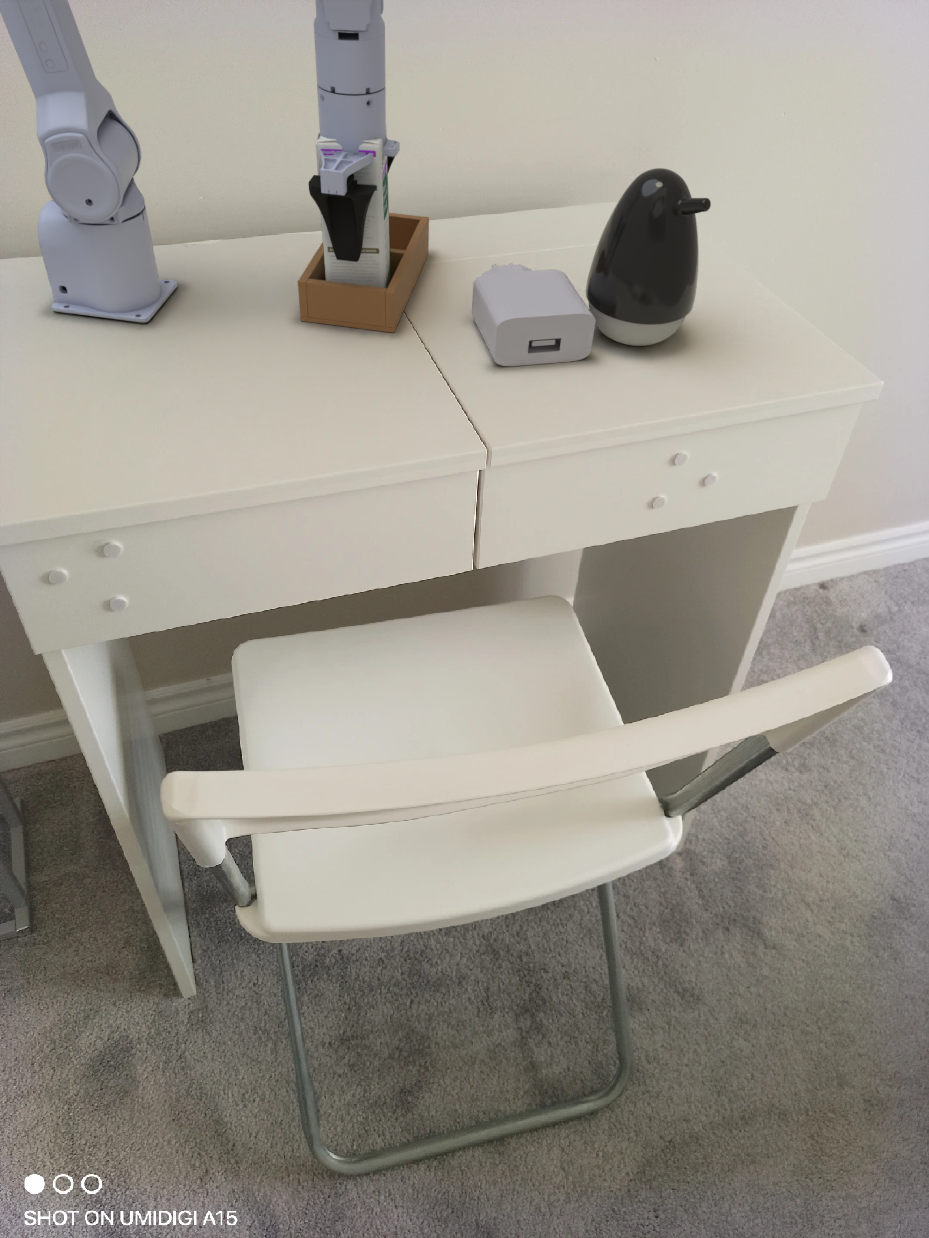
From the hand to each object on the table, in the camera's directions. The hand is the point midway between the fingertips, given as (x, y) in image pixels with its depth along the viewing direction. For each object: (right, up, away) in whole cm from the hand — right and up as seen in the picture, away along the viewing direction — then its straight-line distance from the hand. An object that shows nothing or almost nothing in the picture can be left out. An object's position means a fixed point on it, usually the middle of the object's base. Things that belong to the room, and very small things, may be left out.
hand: (356, 244), depth 89 cm
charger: (+16, -7, +3) cm, 17 cm away
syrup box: (0, -3, +3) cm, 5 cm away
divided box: (0, -1, +7) cm, 7 cm away
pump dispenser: (+26, -8, +3) cm, 28 cm away
